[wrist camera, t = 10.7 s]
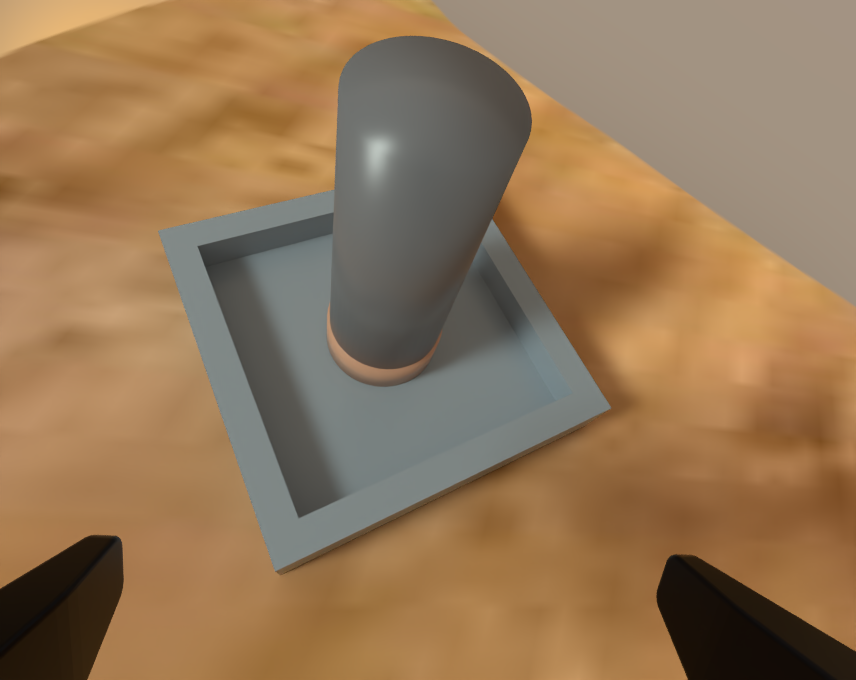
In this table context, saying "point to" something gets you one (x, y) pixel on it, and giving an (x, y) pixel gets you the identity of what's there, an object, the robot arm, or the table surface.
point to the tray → (357, 402)
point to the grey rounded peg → (413, 195)
